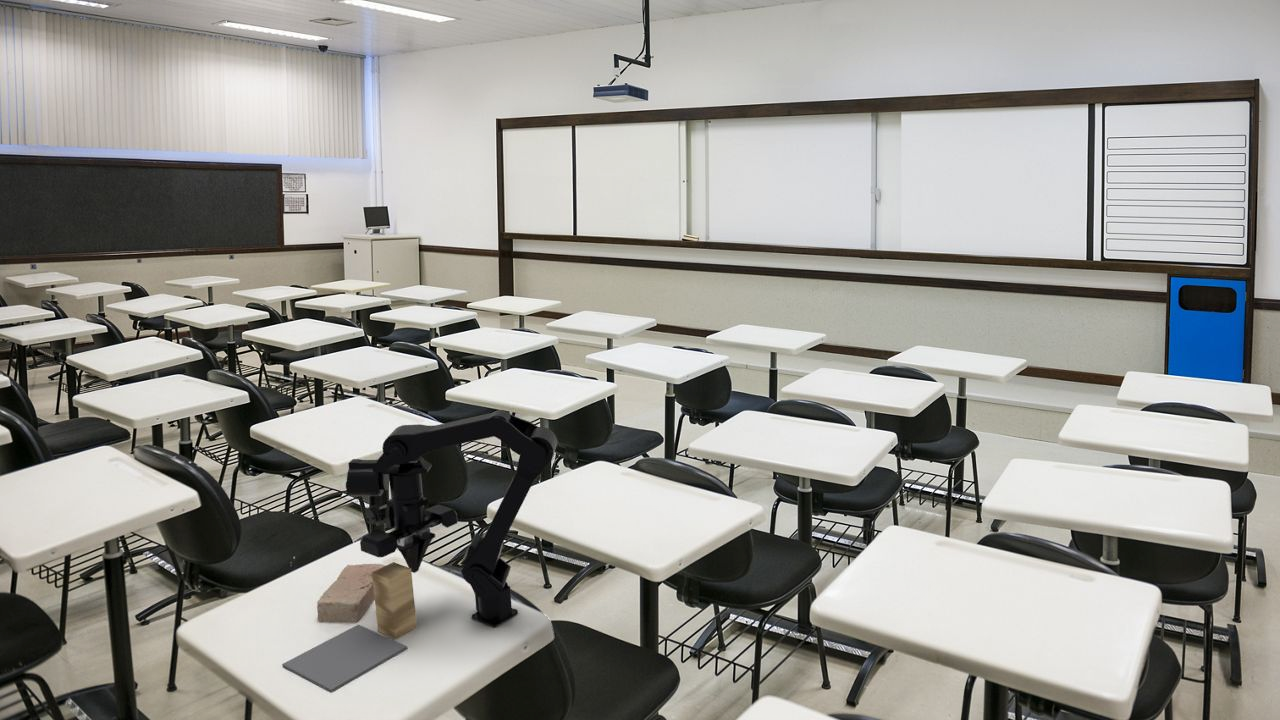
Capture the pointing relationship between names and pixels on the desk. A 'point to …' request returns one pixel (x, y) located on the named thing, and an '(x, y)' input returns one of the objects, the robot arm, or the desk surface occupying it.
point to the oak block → (394, 600)
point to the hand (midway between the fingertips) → (414, 571)
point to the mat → (344, 657)
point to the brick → (348, 595)
